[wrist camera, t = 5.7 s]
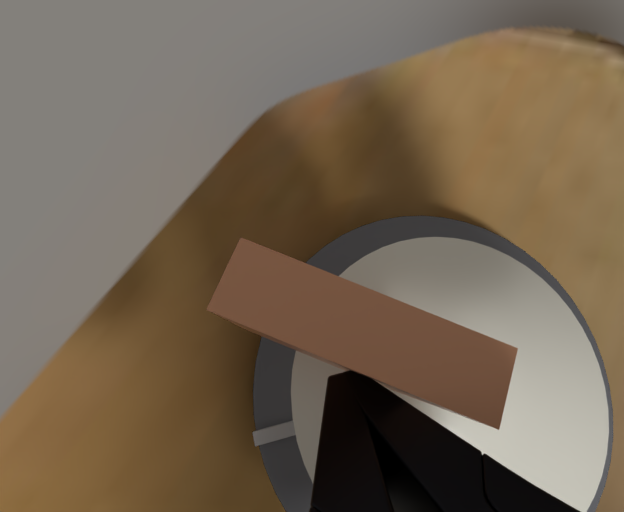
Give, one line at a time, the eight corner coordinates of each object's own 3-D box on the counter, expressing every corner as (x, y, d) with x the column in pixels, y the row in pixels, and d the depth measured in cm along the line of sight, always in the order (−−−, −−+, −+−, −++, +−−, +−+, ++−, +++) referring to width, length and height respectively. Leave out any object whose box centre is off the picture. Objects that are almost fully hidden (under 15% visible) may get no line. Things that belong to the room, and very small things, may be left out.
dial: (605, 305, 16) (900, 263, 8) (551, 618, 13) (942, 1015, 5) (310, 189, 17) (330, 48, 9) (190, 464, 13) (59, 618, 6)
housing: (598, 270, 18) (624, 263, 17) (577, 633, 14) (608, 663, 13) (307, 189, 18) (309, 177, 17) (206, 528, 14) (198, 547, 13)
